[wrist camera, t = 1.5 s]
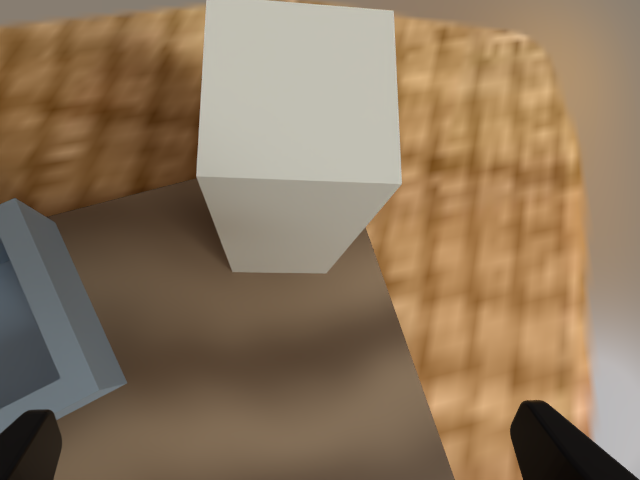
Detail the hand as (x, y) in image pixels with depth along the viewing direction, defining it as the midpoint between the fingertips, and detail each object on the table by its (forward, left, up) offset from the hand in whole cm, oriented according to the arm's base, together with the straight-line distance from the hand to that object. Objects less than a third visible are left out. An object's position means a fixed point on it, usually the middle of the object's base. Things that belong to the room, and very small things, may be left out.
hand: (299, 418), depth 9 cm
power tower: (+7, -2, -12) cm, 14 cm away
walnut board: (+2, +5, -13) cm, 14 cm away
